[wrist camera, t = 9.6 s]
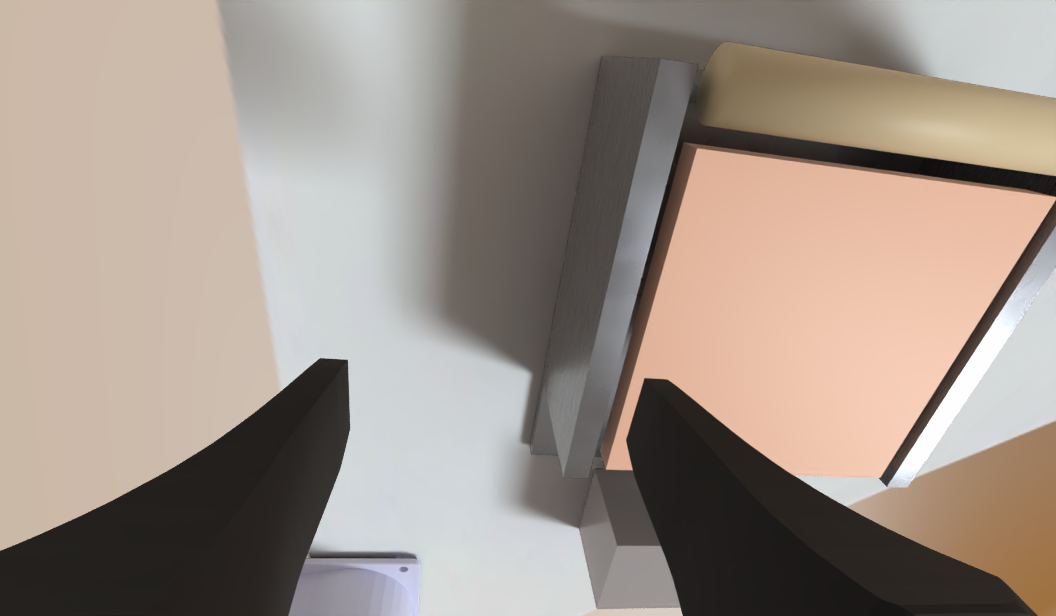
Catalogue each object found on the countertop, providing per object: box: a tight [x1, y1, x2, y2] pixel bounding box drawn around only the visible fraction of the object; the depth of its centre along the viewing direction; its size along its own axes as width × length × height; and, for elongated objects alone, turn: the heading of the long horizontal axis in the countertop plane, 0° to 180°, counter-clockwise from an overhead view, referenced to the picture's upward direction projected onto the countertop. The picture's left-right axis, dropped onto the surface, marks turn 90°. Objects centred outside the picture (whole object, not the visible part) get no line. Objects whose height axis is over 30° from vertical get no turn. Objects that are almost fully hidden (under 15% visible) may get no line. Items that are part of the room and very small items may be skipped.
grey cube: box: [579, 469, 680, 609], centre depth 27 cm, size 5×5×5 cm
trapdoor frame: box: [530, 56, 1056, 487], centre depth 21 cm, size 15×19×6 cm
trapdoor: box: [600, 42, 1056, 478], centre depth 16 cm, size 12×15×2 cm
